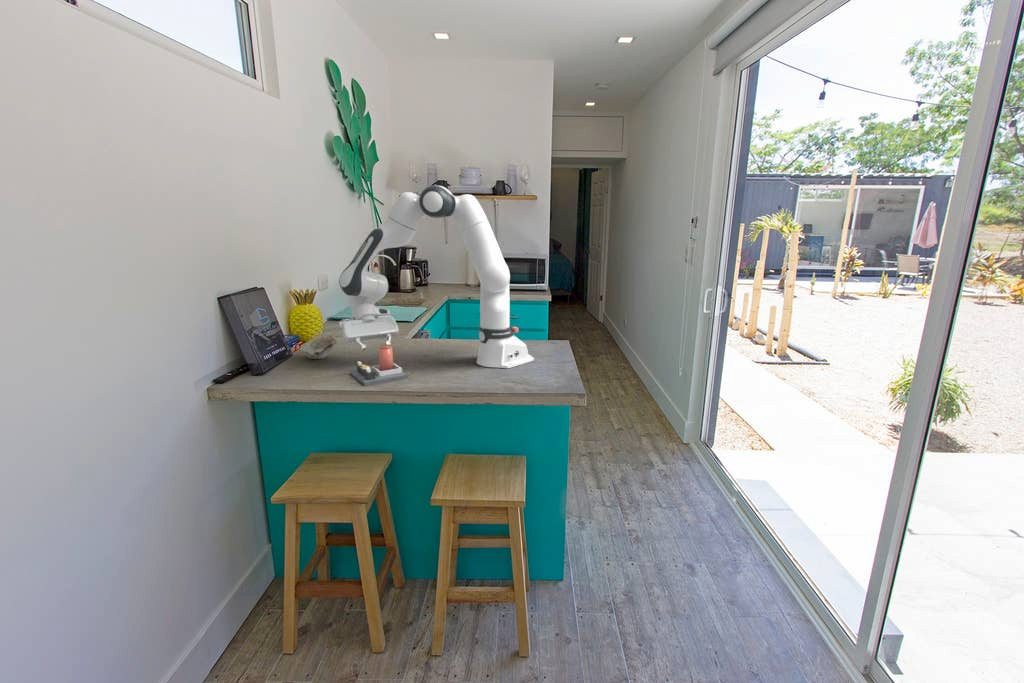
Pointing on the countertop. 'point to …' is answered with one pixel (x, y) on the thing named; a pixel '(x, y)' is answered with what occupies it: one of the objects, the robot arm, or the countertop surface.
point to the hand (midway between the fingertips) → (376, 347)
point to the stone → (319, 345)
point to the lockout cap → (386, 358)
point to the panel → (376, 374)
